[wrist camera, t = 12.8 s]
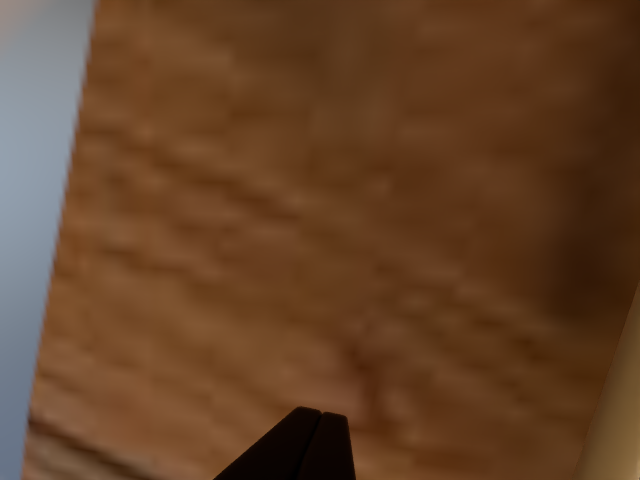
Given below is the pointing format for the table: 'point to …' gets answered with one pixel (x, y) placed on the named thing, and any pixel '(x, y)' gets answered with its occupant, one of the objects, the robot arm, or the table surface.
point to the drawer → (617, 412)
